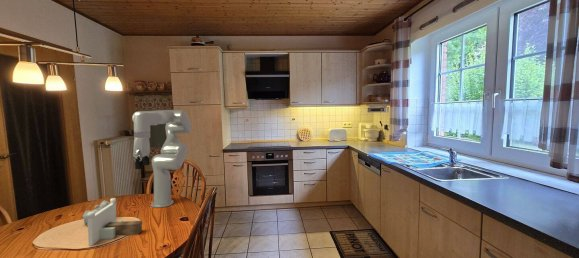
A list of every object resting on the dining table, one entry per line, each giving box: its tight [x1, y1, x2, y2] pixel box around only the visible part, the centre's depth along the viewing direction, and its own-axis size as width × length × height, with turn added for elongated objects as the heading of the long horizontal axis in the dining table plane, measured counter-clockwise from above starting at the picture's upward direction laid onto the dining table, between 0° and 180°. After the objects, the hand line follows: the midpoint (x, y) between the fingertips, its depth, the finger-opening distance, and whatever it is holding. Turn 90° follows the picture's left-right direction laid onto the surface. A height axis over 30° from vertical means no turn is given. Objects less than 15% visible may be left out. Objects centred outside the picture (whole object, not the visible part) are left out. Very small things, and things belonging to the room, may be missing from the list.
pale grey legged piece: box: [87, 197, 124, 247], centre depth 117 cm, size 20×7×14 cm, turn 10°
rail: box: [105, 220, 143, 237], centre depth 119 cm, size 14×4×5 cm, turn 100°
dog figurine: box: [82, 200, 110, 227], centre depth 130 cm, size 5×13×11 cm, turn 147°
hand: (142, 166), depth 134 cm, fingers open, 9 cm apart
